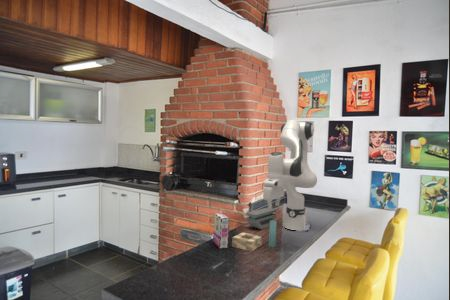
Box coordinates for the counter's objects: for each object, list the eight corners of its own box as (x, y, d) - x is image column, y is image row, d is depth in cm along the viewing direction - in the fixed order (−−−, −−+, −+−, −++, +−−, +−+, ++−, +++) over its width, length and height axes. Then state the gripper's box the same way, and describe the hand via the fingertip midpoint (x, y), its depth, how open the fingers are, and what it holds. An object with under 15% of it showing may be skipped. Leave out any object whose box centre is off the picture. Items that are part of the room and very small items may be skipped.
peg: (270, 244, 167) (271, 219, 167) (276, 245, 165) (277, 221, 165) (267, 246, 164) (268, 221, 164) (273, 247, 162) (274, 222, 162)
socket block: (242, 240, 171) (243, 232, 171) (261, 245, 165) (261, 236, 165) (231, 246, 161) (232, 237, 161) (251, 251, 155) (251, 242, 155)
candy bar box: (228, 248, 159) (229, 217, 158) (219, 249, 157) (220, 218, 156) (221, 241, 169) (222, 212, 168) (212, 242, 167) (214, 213, 167)
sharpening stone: (266, 222, 213) (267, 207, 212) (276, 224, 207) (277, 209, 207) (245, 229, 194) (246, 212, 194) (255, 232, 189) (256, 215, 188)
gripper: (277, 179, 174) (276, 203, 174) (261, 182, 157) (260, 208, 157) (287, 180, 171) (286, 204, 171) (272, 183, 154) (271, 210, 154)
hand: (273, 206), depth 164 cm, fingers open, 8 cm apart
